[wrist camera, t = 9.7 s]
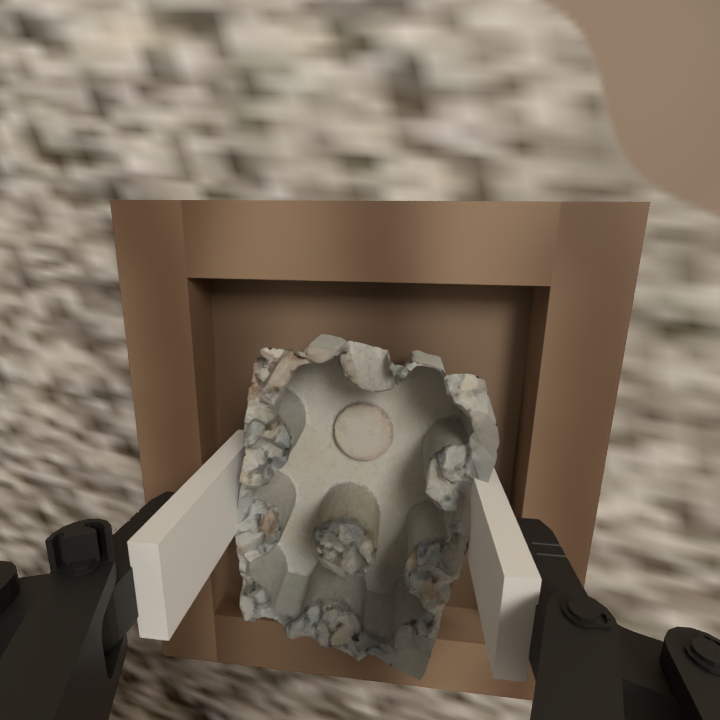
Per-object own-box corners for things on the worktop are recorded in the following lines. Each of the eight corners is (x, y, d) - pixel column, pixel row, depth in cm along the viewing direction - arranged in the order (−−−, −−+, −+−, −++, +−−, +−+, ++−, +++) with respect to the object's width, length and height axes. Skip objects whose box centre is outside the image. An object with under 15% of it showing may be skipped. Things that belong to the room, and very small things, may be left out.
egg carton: (290, 315, 15) (248, 332, 11) (495, 362, 15) (529, 399, 11) (246, 560, 17) (200, 647, 14) (420, 606, 17) (426, 709, 13)
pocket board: (191, 609, 21) (163, 655, 18) (153, 208, 16) (109, 199, 14) (543, 647, 19) (563, 703, 17) (609, 211, 15) (649, 202, 12)
